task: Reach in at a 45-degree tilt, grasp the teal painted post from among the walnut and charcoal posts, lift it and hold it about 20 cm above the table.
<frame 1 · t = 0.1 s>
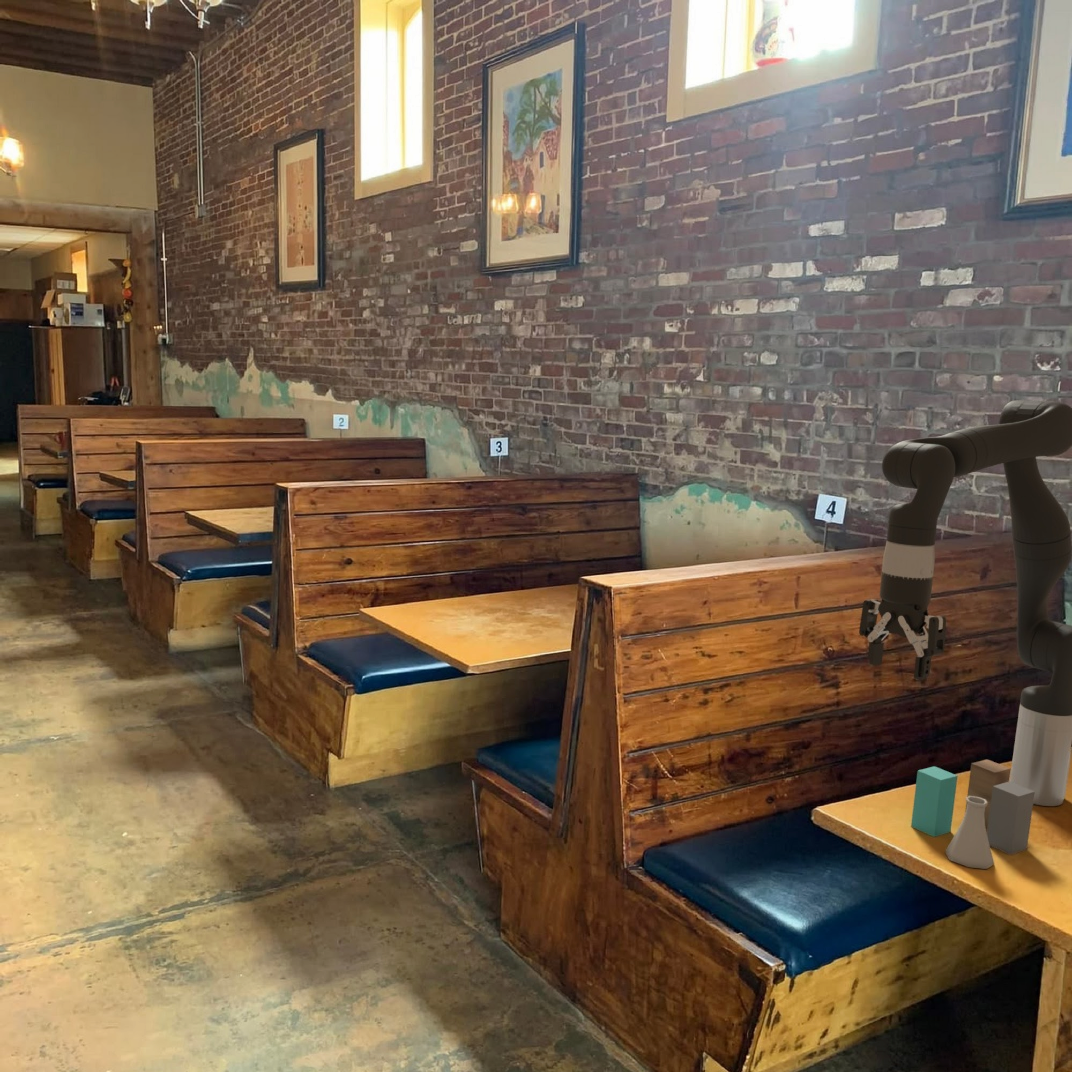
hand: (897, 672, 157), 29 cm above the table, tool pointing down, fingers open, 8 cm apart
flask: (968, 860, 158), on the table
teal post: (930, 828, 169), on the table
charcoal post: (1006, 846, 164), on the table
walnut post: (983, 820, 173), on the table
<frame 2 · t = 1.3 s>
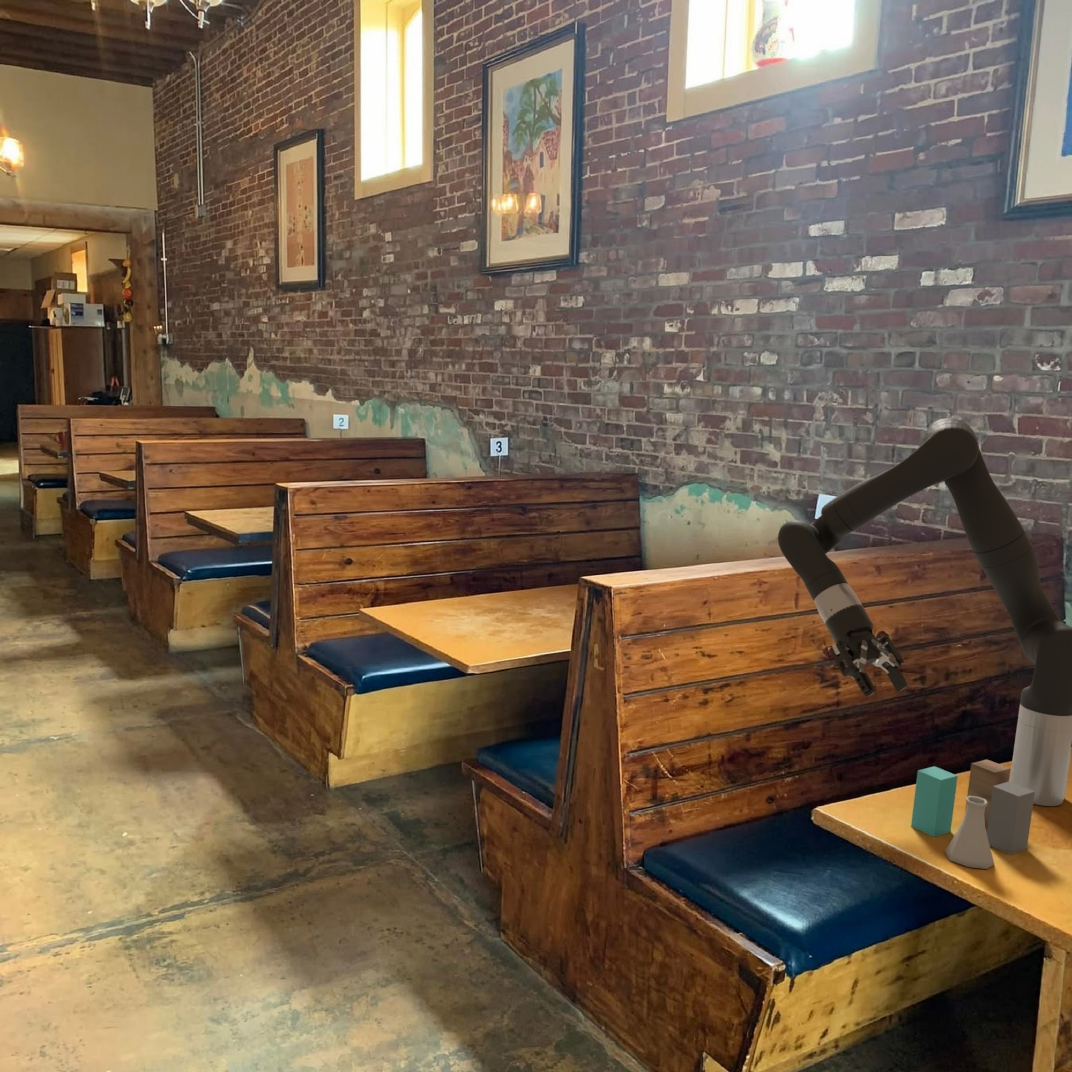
hand: (887, 691, 175), 21 cm above the table, tool tilted 45°, fingers open, 8 cm apart
nothing on the table moved.
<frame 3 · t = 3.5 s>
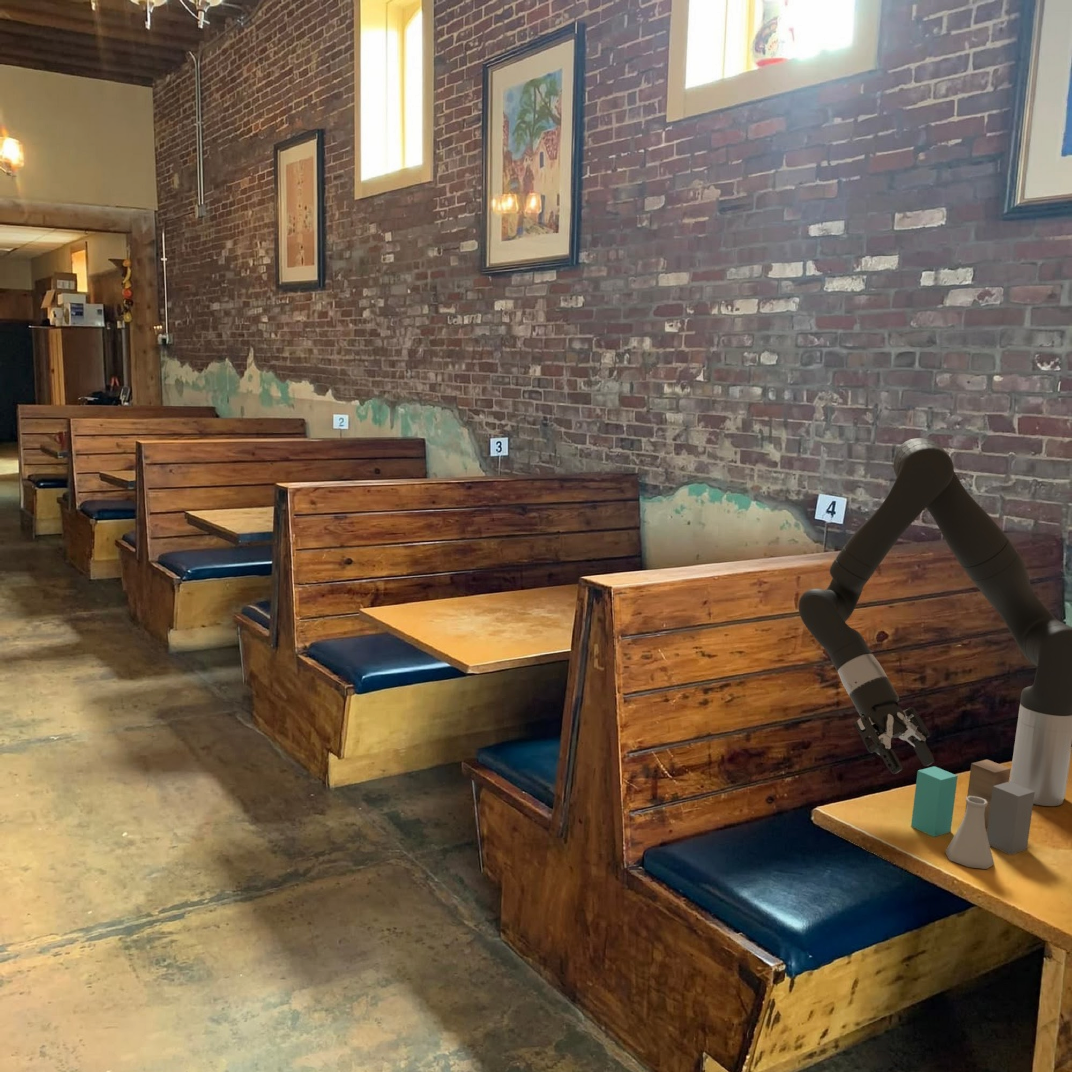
hand: (914, 768, 171), 9 cm above the table, tool tilted 45°, fingers open, 8 cm apart
nothing on the table moved.
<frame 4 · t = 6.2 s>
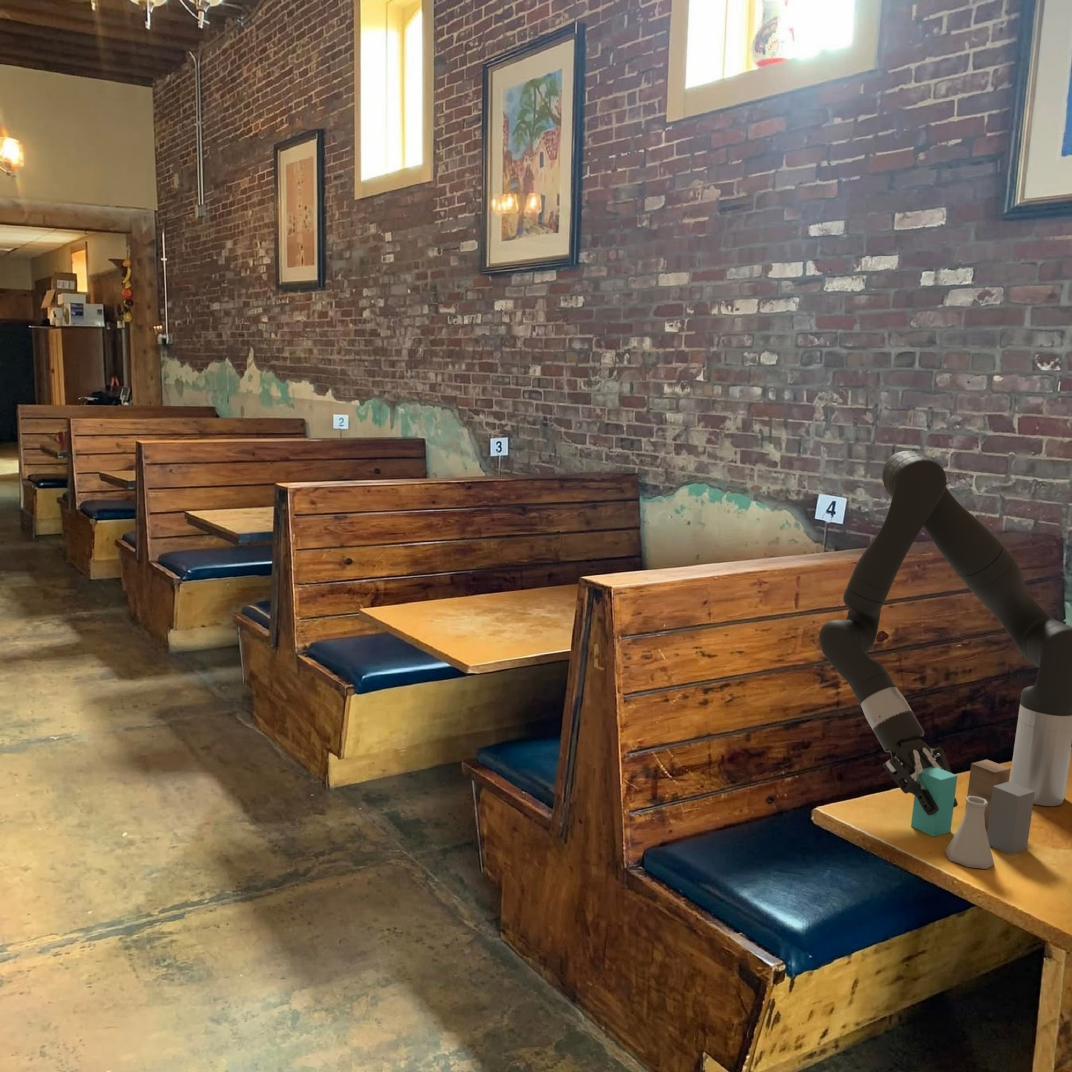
hand: (943, 810, 166), 4 cm above the table, tool tilted 45°, fingers closed on teal post, 4 cm apart
teal post: (930, 828, 169), on the table, touching gripper
everything else where it was.
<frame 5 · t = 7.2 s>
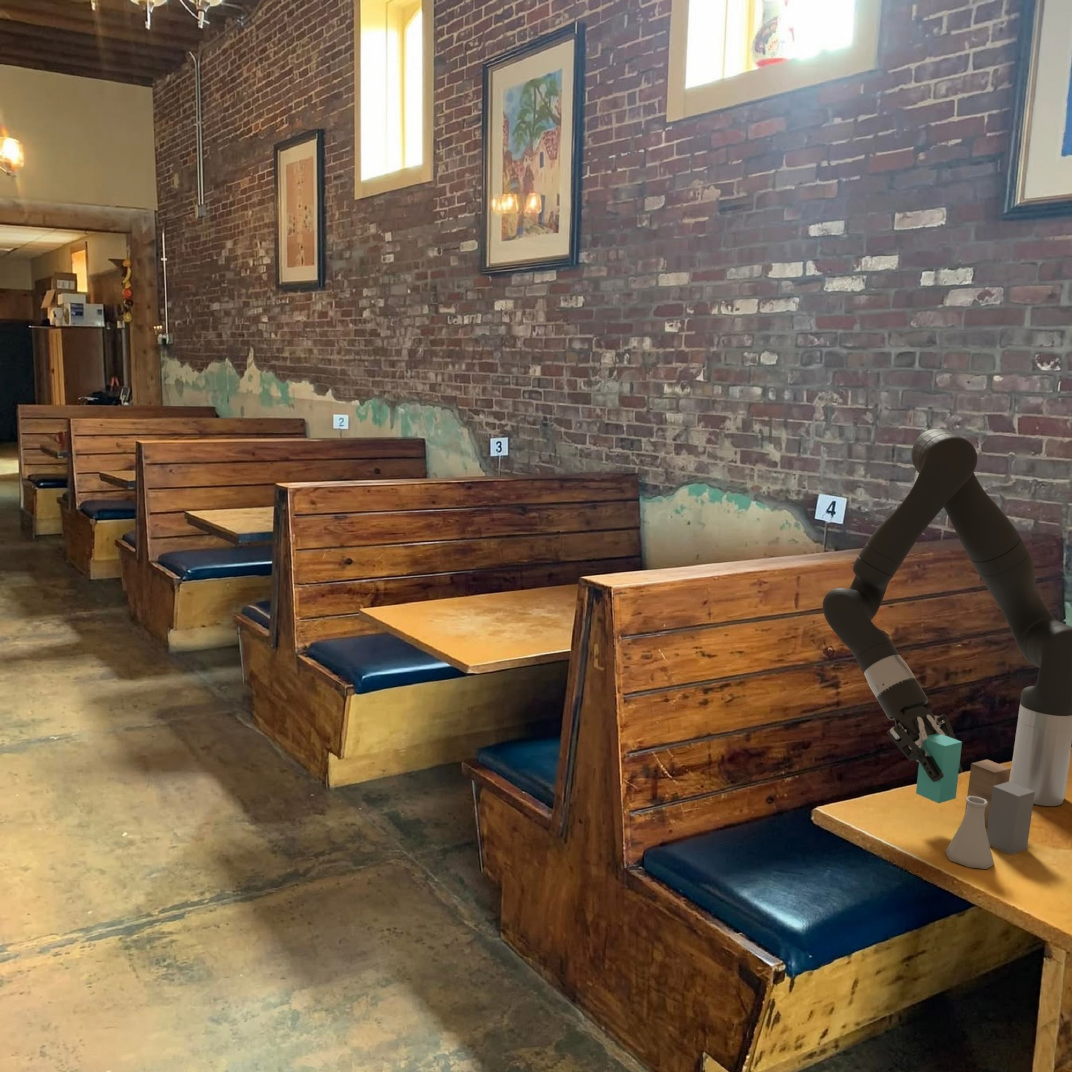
hand: (948, 776, 166), 10 cm above the table, tool tilted 45°, fingers closed on teal post, 4 cm apart
teal post: (935, 795, 168), point 6 cm above the table, touching gripper
everything else where it was.
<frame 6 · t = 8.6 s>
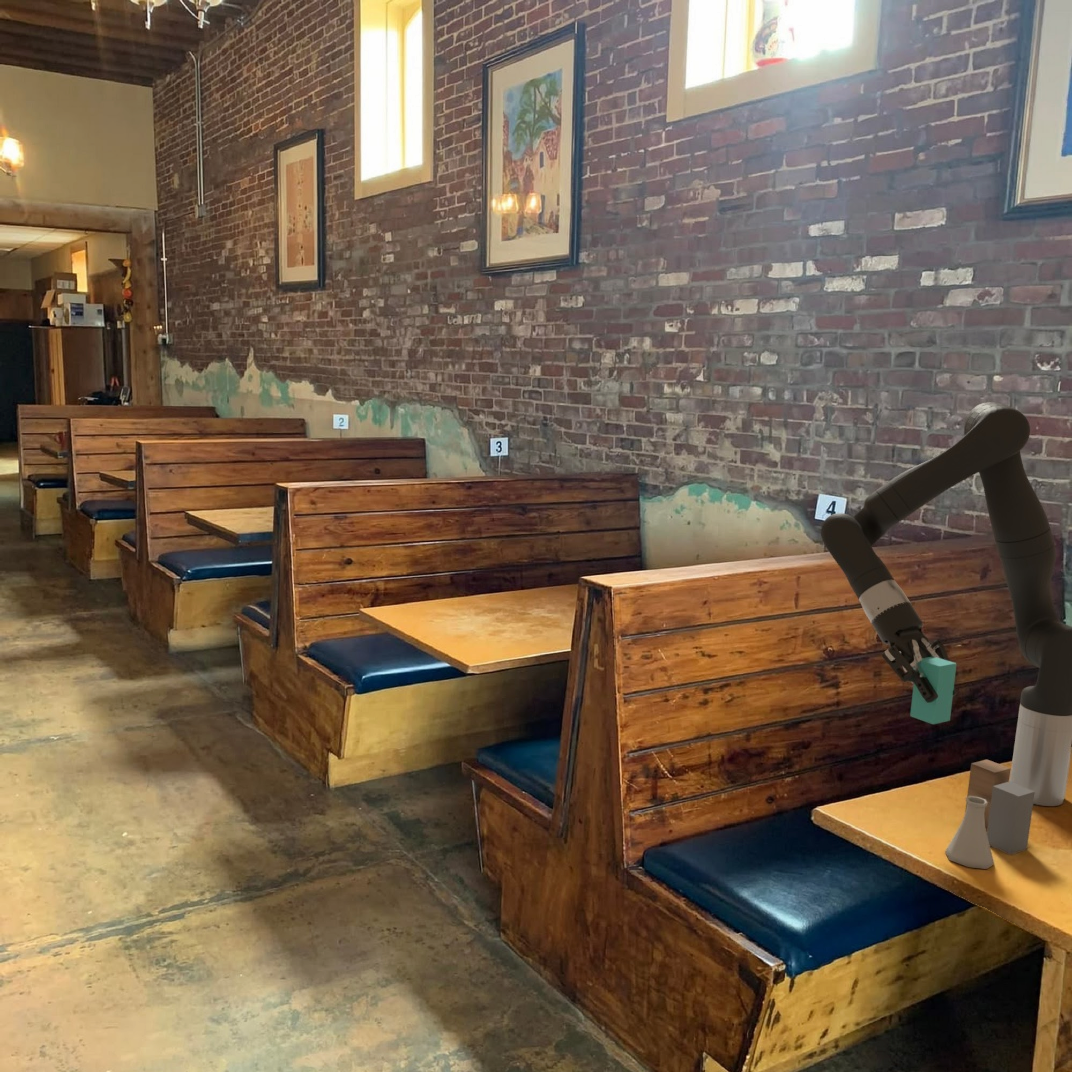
hand: (942, 697, 166), 23 cm above the table, tool tilted 45°, fingers closed on teal post, 4 cm apart
teal post: (929, 718, 168), point 19 cm above the table, touching gripper
everything else where it was.
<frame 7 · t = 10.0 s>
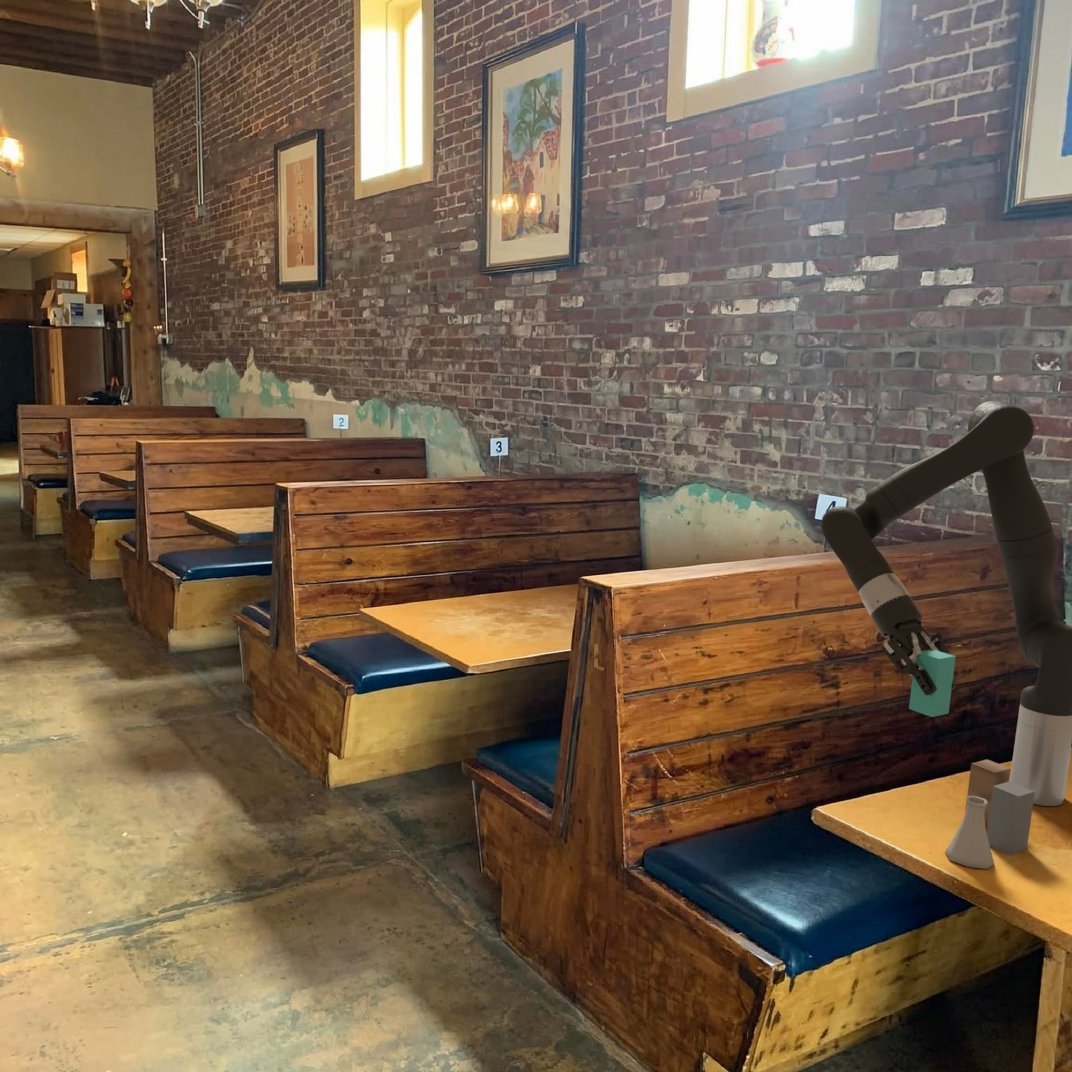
hand: (941, 690, 166), 24 cm above the table, tool tilted 45°, fingers closed on teal post, 4 cm apart
teal post: (928, 711, 168), point 20 cm above the table, touching gripper
everything else where it was.
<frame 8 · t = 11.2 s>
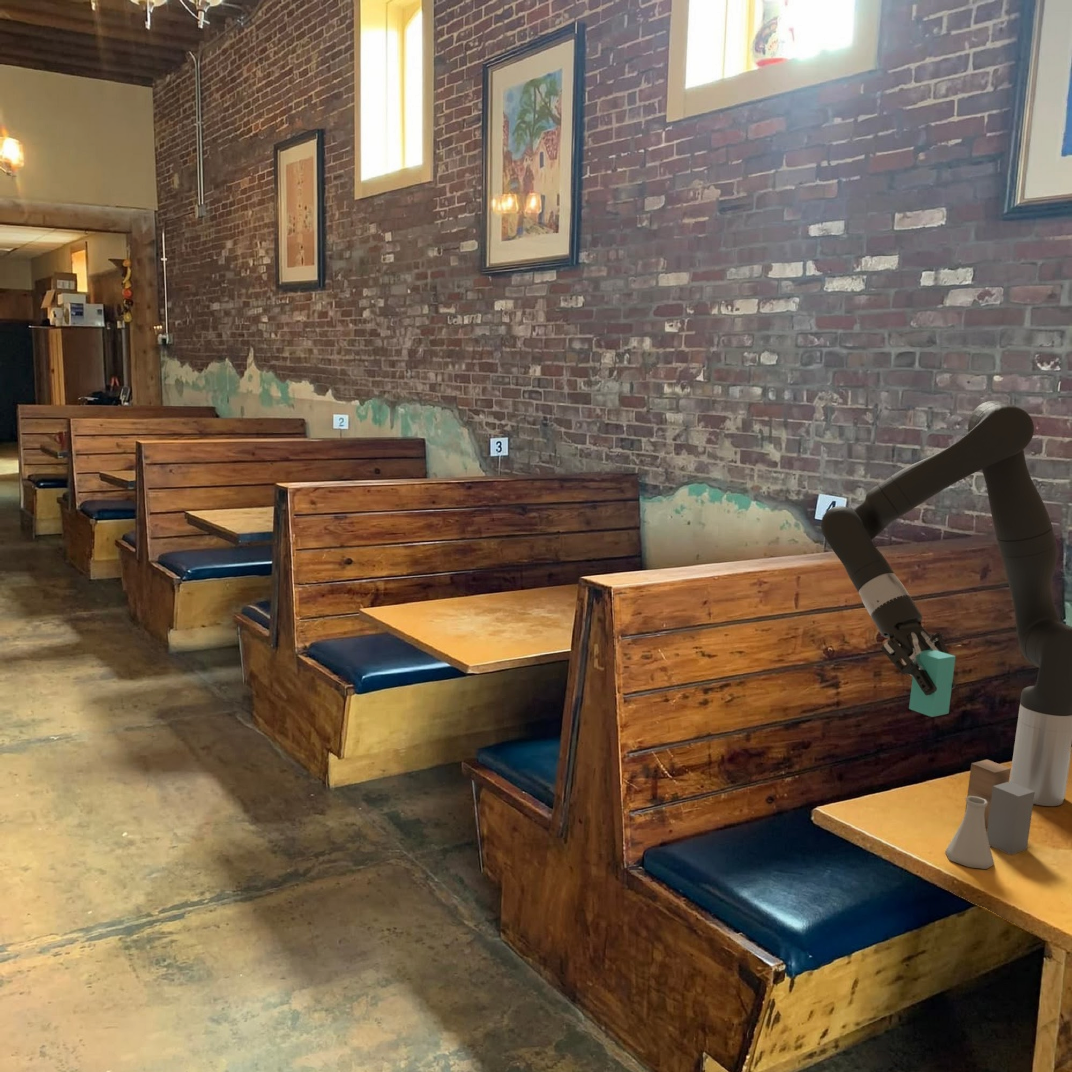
hand: (941, 690, 166), 24 cm above the table, tool tilted 45°, fingers closed on teal post, 4 cm apart
teal post: (928, 711, 168), point 20 cm above the table, touching gripper
everything else where it was.
at the end: the gripper is holding teal post; teal post point 19.9 cm above the table; charcoal post moved 0.0 cm from its start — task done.
